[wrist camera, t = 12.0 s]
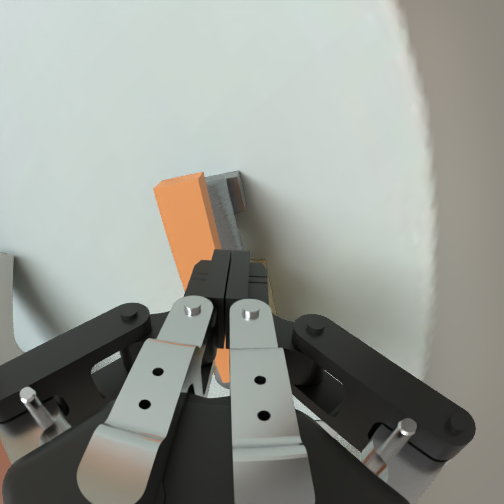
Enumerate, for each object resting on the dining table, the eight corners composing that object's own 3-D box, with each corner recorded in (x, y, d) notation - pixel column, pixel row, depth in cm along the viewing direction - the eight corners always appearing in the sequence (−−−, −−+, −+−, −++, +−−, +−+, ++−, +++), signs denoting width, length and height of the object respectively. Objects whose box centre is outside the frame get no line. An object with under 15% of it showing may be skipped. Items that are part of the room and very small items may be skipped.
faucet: (-19, 246, 25) (-3, 422, 21) (63, 268, 41) (78, 400, 37) (-40, 255, 26) (-26, 413, 21) (38, 274, 42) (51, 397, 37)
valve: (288, 370, 38) (292, 421, 31) (242, 376, 38) (240, 427, 31) (243, 163, 26) (237, 188, 19) (177, 178, 27) (148, 209, 20)
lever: (260, 361, 25) (260, 394, 22) (223, 364, 26) (220, 397, 23) (215, 163, 18) (205, 177, 15) (165, 173, 18) (146, 190, 15)
